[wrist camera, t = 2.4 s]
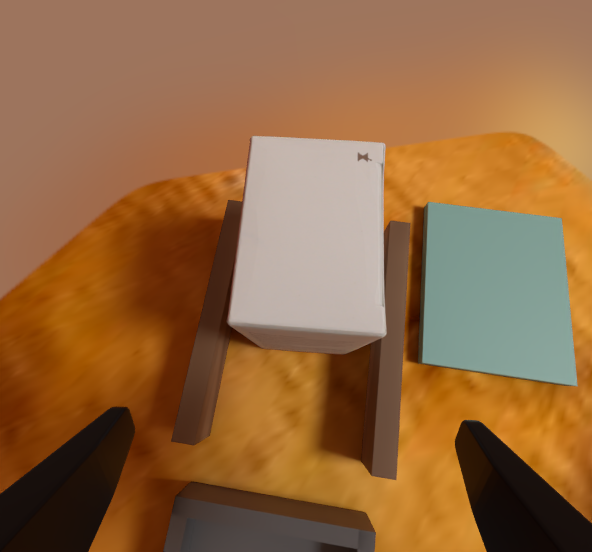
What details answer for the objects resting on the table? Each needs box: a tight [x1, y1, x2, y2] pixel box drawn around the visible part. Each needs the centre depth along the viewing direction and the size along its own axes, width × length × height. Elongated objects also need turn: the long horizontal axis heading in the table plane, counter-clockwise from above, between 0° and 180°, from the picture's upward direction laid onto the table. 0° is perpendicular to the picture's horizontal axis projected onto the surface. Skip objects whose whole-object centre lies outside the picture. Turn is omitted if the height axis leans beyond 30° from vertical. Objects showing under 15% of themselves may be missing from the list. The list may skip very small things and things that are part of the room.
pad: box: [418, 202, 577, 386], centre depth 22 cm, size 9×11×1 cm
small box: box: [227, 136, 386, 354], centre depth 17 cm, size 8×6×10 cm
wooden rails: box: [171, 200, 410, 480], centre depth 20 cm, size 11×14×3 cm
